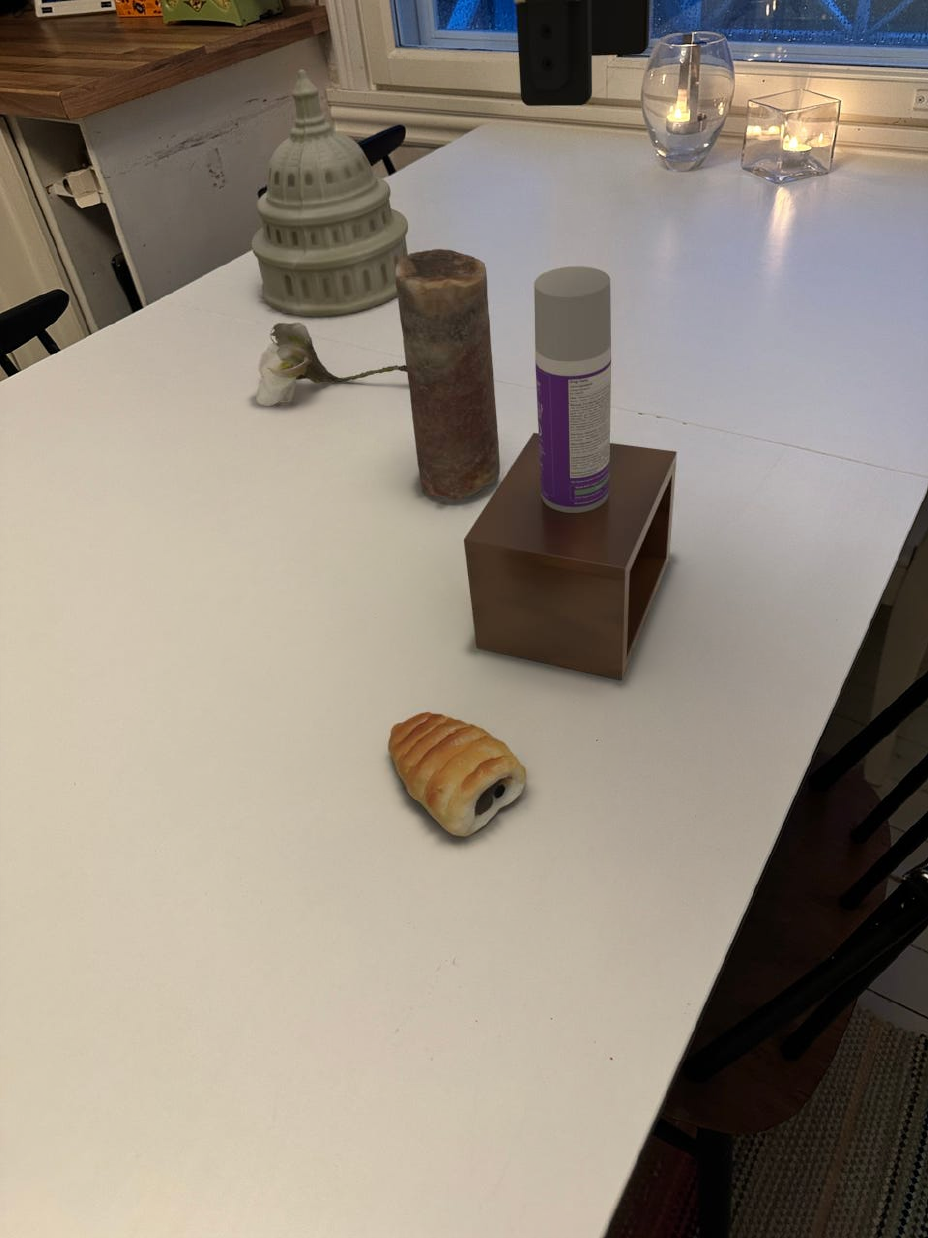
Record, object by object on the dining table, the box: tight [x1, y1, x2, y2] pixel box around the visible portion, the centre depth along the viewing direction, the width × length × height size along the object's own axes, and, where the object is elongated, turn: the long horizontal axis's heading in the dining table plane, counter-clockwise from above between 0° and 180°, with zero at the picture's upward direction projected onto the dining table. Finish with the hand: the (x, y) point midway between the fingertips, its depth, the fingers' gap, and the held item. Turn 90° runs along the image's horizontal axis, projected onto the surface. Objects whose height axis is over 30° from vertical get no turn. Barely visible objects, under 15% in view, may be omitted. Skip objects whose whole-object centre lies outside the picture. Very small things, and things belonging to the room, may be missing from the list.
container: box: [533, 265, 612, 513], centre depth 59 cm, size 5×5×15 cm
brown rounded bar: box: [395, 248, 501, 500], centre depth 78 cm, size 8×7×20 cm
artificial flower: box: [255, 322, 407, 407], centre depth 97 cm, size 9×22×10 cm, turn 78°
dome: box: [251, 69, 409, 317], centre depth 114 cm, size 20×25×20 cm
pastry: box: [387, 711, 527, 838], centre depth 58 cm, size 9×7×4 cm
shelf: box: [463, 432, 678, 680], centre depth 68 cm, size 11×14×10 cm
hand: (588, 76), depth 45 cm, fingers open, 9 cm apart
